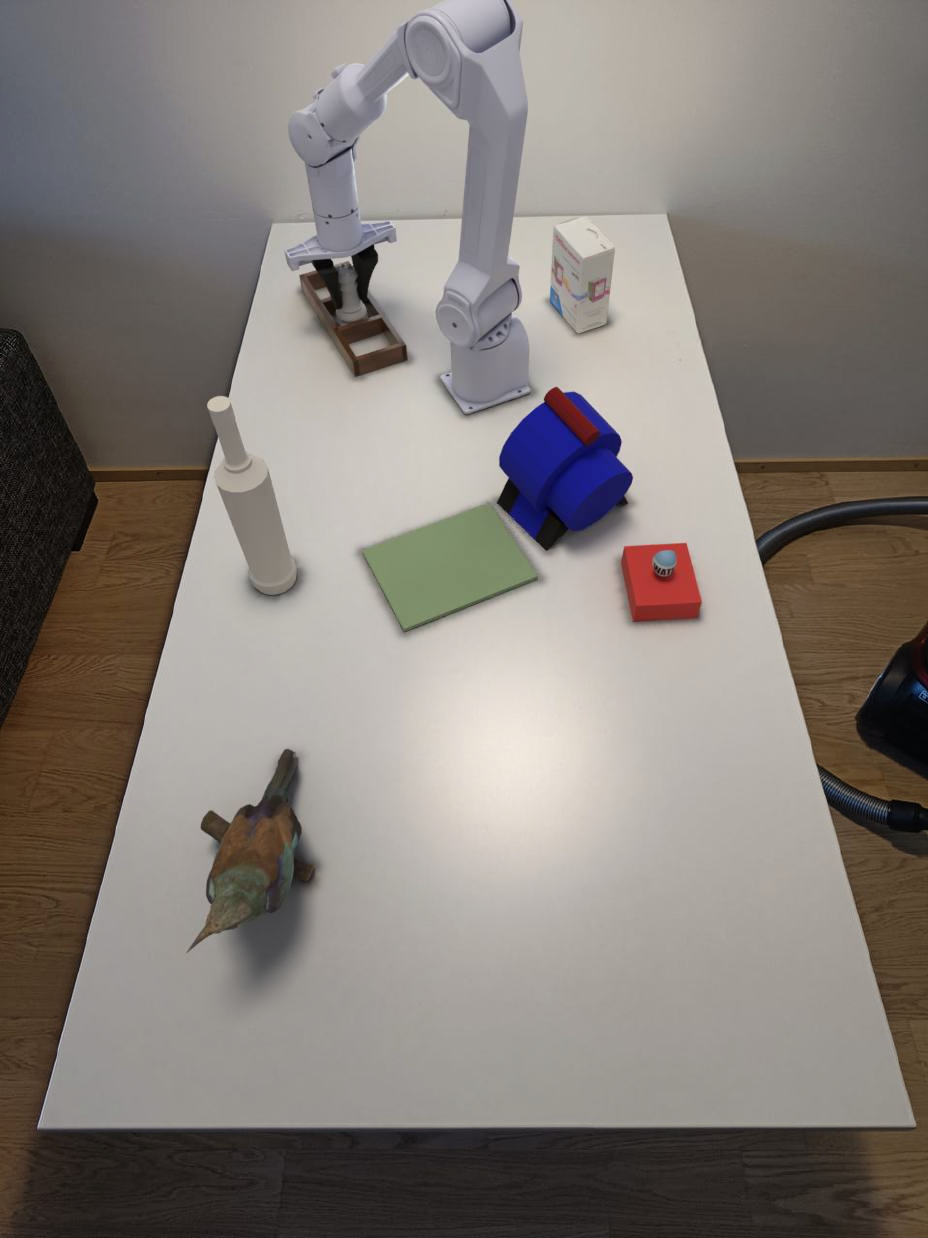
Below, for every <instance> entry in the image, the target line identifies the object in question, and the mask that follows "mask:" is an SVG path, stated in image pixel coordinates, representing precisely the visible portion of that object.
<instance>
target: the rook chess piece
mask: <svg viewBox="0 0 928 1238" xmlns="http://www.w3.org/2000/svg"><path fill="white" fill-rule="evenodd" d="M341 263H342V264H341V267H340V268H339V266H338V265H337V266H336V269H337V271H338V286H339V293H340V298H341V302H342V309H338V310H337V309H336V315H335V316H336V318H335V320H336V322H337V324H339V326H340V327H341V326H344V325H347V324H350V323H354V322H357V321H360V320H363V319H367V318H369V314H368V312H367V311H368V310H367V308H366V307H365V305H364V304H363V303H362V301H361V300H360V298H359V295H358V292H357V286H358V283H357V281H355V280H356V278H357V277H358V272H357V271H356V270H355V269H354V266H353V265H352V263H351V262H350V263H348V264H347V266H345V265H344V263H343V262H341ZM351 265H352V266H351Z"/></svg>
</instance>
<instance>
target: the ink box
mask: <svg viewBox="0 0 928 1238" xmlns="http://www.w3.org/2000/svg"><path fill="white" fill-rule="evenodd" d="M551 246H552V249H551V268H550V269H551V270H550V288H549V302H550V303H551V304H552V306H553V307H554V308H555V309H556V310H557V312H559V314H560V315H561V316H562V317H563V318H564V320H565V321H566V322H567V324H569V325H570V327H571V328H572V330H574V332H575V333H576V334H581V333H585V332H587V331H590V330H595V329H596V328H600V327H602V326H605V325H607V323H608V322H607V321H608V315H609V314H608V313H609V305H610V296H611V287H612V277H613V269H614V261H615V253H616V252H615V251H616V248H615V245H614V243H612V242H611V241H610V240H609V239H608V238H607V236H606V235H604V234H603V232H602V231H601V230H600V229H599V228H598V226H596V225H595V224H594V223H593V221H592V220H591V219H590V218H589V217H588V216H584V215H581V216H577V217H573V218H570V219H568V220H565V221H561V222H560V223H557V224H554V225H553V231H552V245H551Z"/></svg>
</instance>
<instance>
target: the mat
mask: <svg viewBox="0 0 928 1238" xmlns="http://www.w3.org/2000/svg"><path fill="white" fill-rule="evenodd" d="M361 552H362V556H363V557H364V559H365V561H366V563H367V564H368V566H369V568H370V570H371V572H372V575H373V576H374V578H375V580H376V581H377V584H378V585H379V587H380V589H381V591H382V593H383V594H384V597H385V598H386V601H387V603H388V604H389V606H390V608H391V610H392V613H393V614H394V616H395V618H396V619H397V621H398V623H399V625H400V627H401V629H402V631H403V632H404V633H405V632H408V631H410V630H413V629H415V628H419V627H421V626H423V625H426V624H428V623H431V622H434V621H436V620H438V619H441V618H444V617H446V616H447V615H450V614H454V613H456V612H458V611H461V610H463V609H466V608H468V607H471V606H473V605H476V604H479V603H480V602H483V601H487V600H488V599H492V598H493V597H496V596H499V595H501V594H503V593H506V592H508V591H511V590H514V589H516V588H518V587H521V586H524V585H526V584H528V583H531V582H534V581H536V580H538V579H539V576H538V574H537V572H536V571H535V569H534V568H533V566H532V565H531V563H530V562H529V560H528V559H527V557H526V556H525V554H524V553H523V551H522V550H521V548H520V547H519V545H518V544H517V542H516V541H515V539H514V537H513V536H512V535H511V533H510V532H509V530H508V528H507V527H506V525H505V524H504V523H503V521H502V519H501V518H500V516H499V515H498V513H497V512H496V510H495V509H494V507H493V506H492V504H491V503H490V502H488V503H485V504H483V505H479V506H478V507H474V508H472V509H469V510H466V511H464V512H460V513H459V514H456V515H452V516H450V517H448V518H445V519H442V520H440V521H436V522H434V523H431V524H429V525H426V526H423V527H420V528H418V529H415V530H412V531H409V532H407V533H404V534H401V535H399V536H396V537H393V538H390V539H388V540H385V541H383V542H379V543H377V544H374V545H372V546H369V547H366V548H364V549H362V550H361Z"/></svg>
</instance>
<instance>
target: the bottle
mask: <svg viewBox="0 0 928 1238" xmlns="http://www.w3.org/2000/svg"><path fill="white" fill-rule="evenodd" d="M206 407H207V410H208V413H209V415H210V418H211V421H212V424H213V427H214V429H215V431H216V434H217V438H218V440H219V443H220V446H221V449H222V452H223V455H224V457H223V459H222V461H221V462H220V463H219V464H218V465H217V467H215V469H214V474H213V479H214V482H215V485H216V487H217V490H218V492H219V494H220V498H221V501H222V503H223V505H224V507H225V510H226V513H227V515H228V518H229V520H230V523H231V526H232V528H233V530H234V533H235V537H236V539H237V541H238V543H239V546H240V549H241V551H242V553H243V556H244V558H245V561H246V564H247V566H248V572H247V573H248V576H249V579H250V581H251V583H252V585H253V586H254V588H255V589H256V590H258V591H259V592H260V593H262V594H265V595H268V596H277V595H280V594H283V593H286V592H287V591H288V590H290V589H291V588H292V587H293V586H294V584H295V582H296V580H297V574H298V567H297V565H296V562H295V559H294V557H293V556H292V555H291V551H290V548H289V544H288V540H287V536H286V532H285V529H284V525H283V520H282V517H281V512H280V509H279V504H278V501H277V497H276V494H275V489H274V486H273V481H272V478H271V474H270V469H269V466H268V463H267V461H266V460H265V459H263V458H262V457H261V456H259V455H257V454H253V453H249V452H248V451H246V449H245V445H244V443H243V440H242V437H241V433H240V430H239V427H238V423H237V420H236V415H235V412H234V408H233V405H232V402H231V399H230V398H229V397H228V396H225V395H217V396H214V397H212V398H210V399H209V401H208V402H207V405H206Z"/></svg>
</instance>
